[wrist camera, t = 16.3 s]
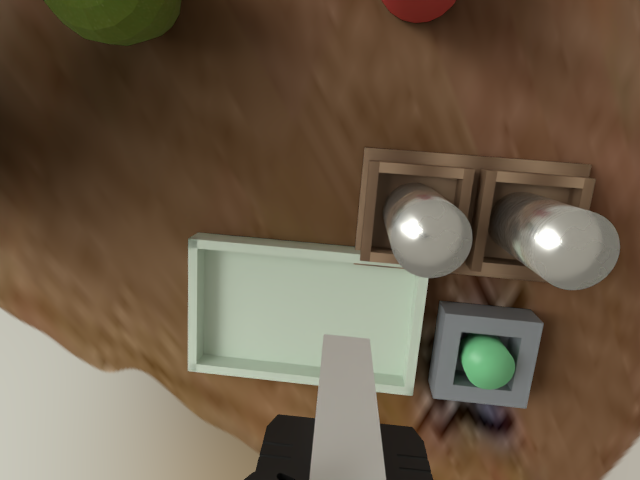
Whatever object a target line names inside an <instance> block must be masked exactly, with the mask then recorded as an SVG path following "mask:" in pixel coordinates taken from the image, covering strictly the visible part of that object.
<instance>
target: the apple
mask: <svg viewBox="0 0 640 480" xmlns="http://www.w3.org/2000/svg"><path fill="white" fill-rule="evenodd" d="M44 2H45V3H46V4H47V5H48V7H49V8H50V9H51V10H52V12H53V13H54V14H55V15H56V16H57V17H58V18H59V19H60V20H61V22H62V23H63V24H65V25H66V26H67V27H69V28H70V29H72V30H73V31H74V32H76V33H77V34H78V35H80V36H81V37H83V38H84V39H88V40H93V41H97V42H102V43H106V44H114V45H123V46H129V45H133V44H136V43H140V42H143V41H147V40H150V39H153V38H156V37H159V36H162V35H163V34H164V33H165V32H167V31H168V30H169V29H170V28H171V27H172V26H173V25H174V23H175V21H176V19H177V18H178V16H179V14H180V7H181V0H44Z"/></svg>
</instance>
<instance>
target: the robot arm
mask: <svg viewBox="0 0 640 480" xmlns="http://www.w3.org/2000/svg"><path fill="white" fill-rule="evenodd" d="M244 480H433V478H432V474H431V470H430V466H429V461H428V460H427V453H426V449H425V445H424V441H423V440H422V439H421V438H420V436H419V435H418V434H417V433H416V431H415V430H414V429H413V428H412V427H406V426H397V425H387V424H380V423H379V414H378V406H377V397H376V388H375V380H374V371H373V363H372V354H371V346H370V339H368V338H358V337H348V336H337V335H327V334H324V336H323V346H322V356H321V366H320V377H319V387H318V397H317V407H316V417H315V418H307V417H298V416H288V415H277V416H276V417H275V418H274V419H273V420H272V422H271V423H270V424H269V425H268V426H267V428H266V432H265V436H264V440H263V444H262V448H261V452H260V457H259V459H258V463H257V467H256V471H255V472H253V473H252V474H251V475H249V476H248V477H247V478H245V479H244Z"/></svg>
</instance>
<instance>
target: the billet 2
mask: <svg viewBox="0 0 640 480" xmlns="http://www.w3.org/2000/svg"><path fill="white" fill-rule="evenodd" d="M488 232H489V235H490V237H491V238H492V240H493V241H494V242H495V243H496V244H497V245H498V246H500V247H501V248H502V249H504V250H505V251H506V252H508V253H509V254H510V255H512V256H513V257H515V258H516V259H517V260H519V261H520V262H521V263H523V264H524V265H525V266H527V267H528V268H529V269H531V270H532V271H534V272H535V273H536V274H538V275H539V276H540V277H542V278H543V279H544V280H546V281H547V282H549V283H550V284H552V285H553V286H555V287H558V288H561V289H565V290H580V289H585V288H588V287H591V286H593V285H595V284H597V283H599V282H600V281H602V280H603V279H604V278H605V277H606V276H607V275H608V274H609V273H610V272H611V271H612V269H613V268H614V266H615V264H616V262H617V260H618V256H619V252H620V241H619V236H618V233H617V231H616V229H615V227H614V226H613V225H612V223H611V222H610V221H609V220H607V219H606V218H605V217H603V216H601V215H600V214H597V213H594V212H591V211H588V210H585V209H581V208H578V207H575V206H572V205H568V204H565V203H562V202H558V201H555V200H552V199H549V198H545V197H542V196H539V195H535V194H532V193H528V192H513V193H510V194H507V195H505V196H503V197H502V198H500V199H499V200H498V201H497V202H496V203H495V204H494V205H493V207H492V208H491V215H490V221H489V227H488Z"/></svg>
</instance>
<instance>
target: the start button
mask: <svg viewBox="0 0 640 480" xmlns="http://www.w3.org/2000/svg"><path fill="white" fill-rule="evenodd" d="M458 357H459V359H460V362H461V364H462V366H463V368H464V371H465V373H466V375H467V377H468V379H469V380H470V382H471V383H472V384H474V385H475V386H477V387H479V388H482V389H488V390H491V389H497V388H500V387H502V386H504V385H505V384H507V383H508V382H509V381H510V380H511V378H512V377H513V374H514V371H515V362H514V359H513V357H512V356H511V354H510V353H509V351H508V350H507V348H506V347H505V346H504V344H503V343H502V341H501V340H500V338H499V337H498V336H496V335H487V334H477V333H469V334H468V335H466V336H465V337H464V338H463V339H462V340H461V342H460V344H459V349H458Z"/></svg>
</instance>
